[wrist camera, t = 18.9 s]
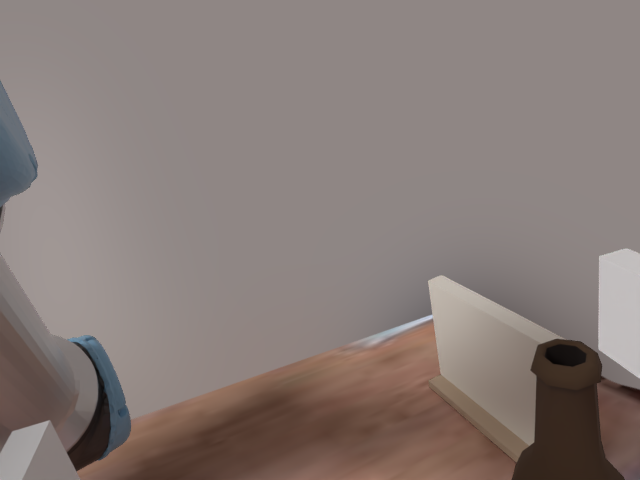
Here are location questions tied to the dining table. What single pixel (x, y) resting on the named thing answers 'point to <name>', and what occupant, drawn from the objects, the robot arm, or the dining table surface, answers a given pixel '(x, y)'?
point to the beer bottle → (566, 417)
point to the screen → (486, 363)
